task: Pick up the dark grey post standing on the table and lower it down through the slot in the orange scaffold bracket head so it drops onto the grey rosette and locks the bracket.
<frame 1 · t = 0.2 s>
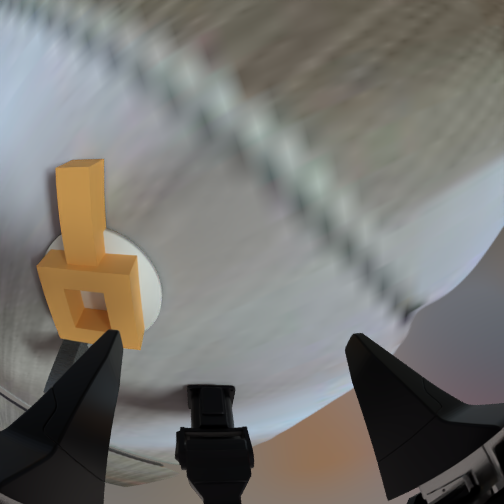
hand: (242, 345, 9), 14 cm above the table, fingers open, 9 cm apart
bracket: (99, 286, 24), on the table
dark grey post: (78, 342, 27), on the table
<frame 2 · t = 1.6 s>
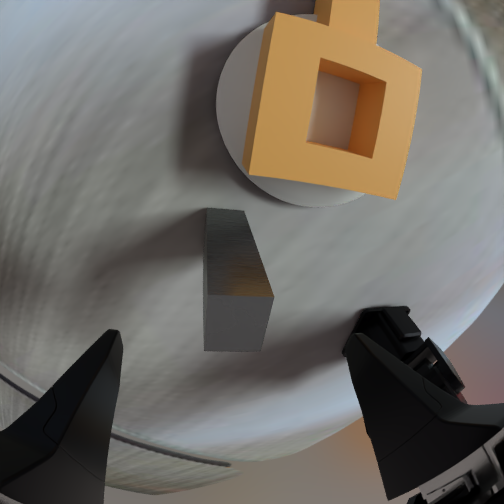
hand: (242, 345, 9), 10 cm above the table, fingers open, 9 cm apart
bracket: (321, 108, 15), on the table
dark grey post: (223, 230, 18), on the table
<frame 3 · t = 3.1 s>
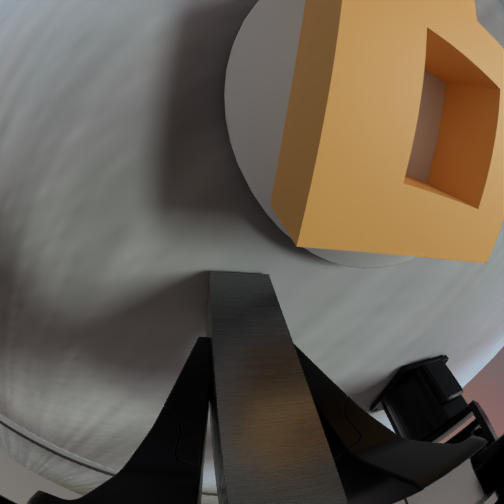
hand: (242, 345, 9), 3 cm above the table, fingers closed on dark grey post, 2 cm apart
bracket: (393, 113, 9), on the table
dark grey post: (235, 302, 12), on the table, touching gripper
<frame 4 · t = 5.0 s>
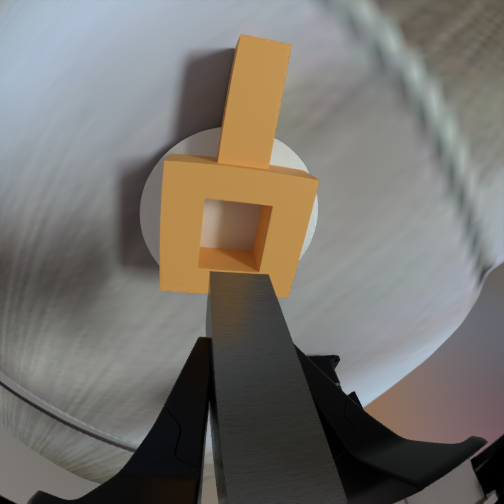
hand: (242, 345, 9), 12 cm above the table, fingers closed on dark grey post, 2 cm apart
bracket: (229, 215, 20), on the table
dark grey post: (235, 302, 12), point 10 cm above the table, touching gripper
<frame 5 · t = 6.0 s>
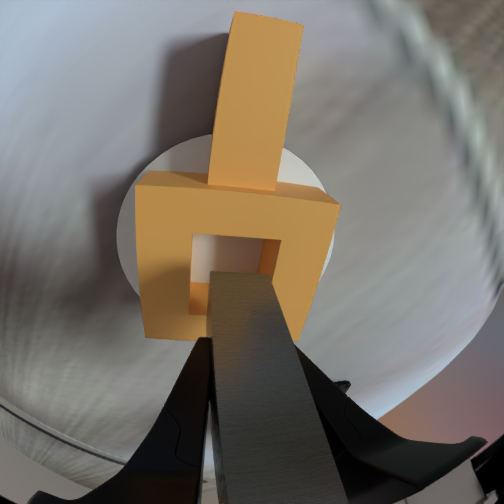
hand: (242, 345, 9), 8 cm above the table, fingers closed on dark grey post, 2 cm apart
bracket: (226, 244, 16), on the table
dark grey post: (235, 301, 12), point 5 cm above the table, touching gripper
when the fingers open (5 cm above the table, at t = 6.9 s): dark grey post drops 1 cm, resting on bracket.
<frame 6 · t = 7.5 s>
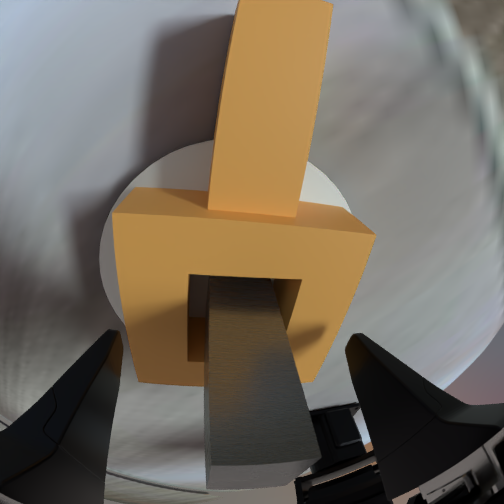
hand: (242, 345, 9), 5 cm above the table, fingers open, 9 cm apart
bracket: (230, 273, 14), on the table
dark grey post: (233, 283, 13), point 1 cm above the table, touching bracket
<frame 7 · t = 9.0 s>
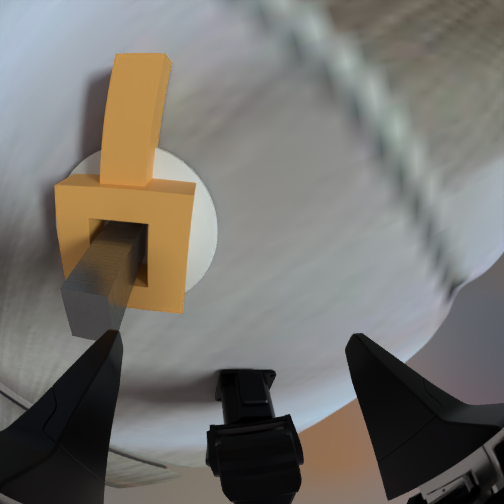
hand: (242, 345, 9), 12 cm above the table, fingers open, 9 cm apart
bracket: (132, 229, 19), on the table
dark grey post: (130, 234, 18), point 1 cm above the table, touching bracket
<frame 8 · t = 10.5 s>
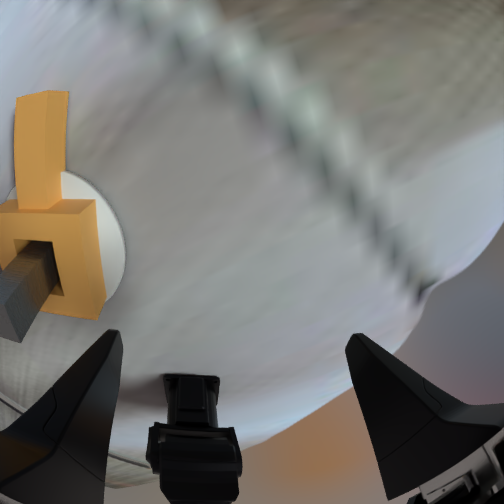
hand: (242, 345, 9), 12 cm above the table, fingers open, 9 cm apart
bracket: (58, 244, 18), on the table
dark grey post: (54, 249, 18), point 1 cm above the table, touching bracket
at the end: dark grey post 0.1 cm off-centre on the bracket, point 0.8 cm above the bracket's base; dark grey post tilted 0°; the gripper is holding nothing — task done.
